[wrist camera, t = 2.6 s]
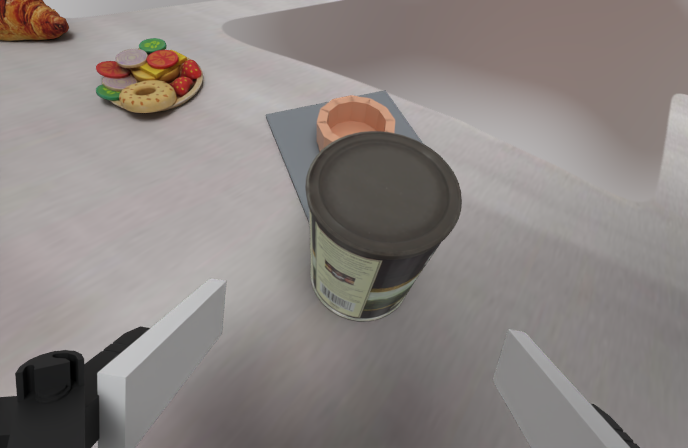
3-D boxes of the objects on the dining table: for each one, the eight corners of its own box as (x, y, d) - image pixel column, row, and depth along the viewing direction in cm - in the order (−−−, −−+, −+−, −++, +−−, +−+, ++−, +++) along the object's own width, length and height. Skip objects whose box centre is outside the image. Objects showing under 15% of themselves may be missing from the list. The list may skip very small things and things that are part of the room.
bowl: (370, 115, 45) (375, 90, 42) (400, 162, 41) (408, 139, 37) (308, 129, 43) (307, 104, 39) (333, 181, 39) (334, 157, 35)
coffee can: (410, 235, 36) (457, 140, 24) (408, 329, 31) (468, 267, 19) (318, 221, 36) (319, 120, 24) (300, 313, 31) (290, 240, 19)
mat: (384, 93, 49) (385, 90, 48) (447, 182, 40) (449, 180, 40) (266, 117, 44) (265, 114, 44) (309, 224, 36) (309, 221, 35)
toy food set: (151, 133, 42) (140, 113, 39) (81, 93, 44) (65, 71, 42) (224, 81, 48) (218, 60, 45) (158, 49, 51) (149, 28, 48)
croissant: (-38, 43, 53) (-110, 6, 45) (-19, -14, 54) (-85, -60, 46) (77, 69, 51) (23, 35, 43) (96, 10, 52) (47, -34, 44)
